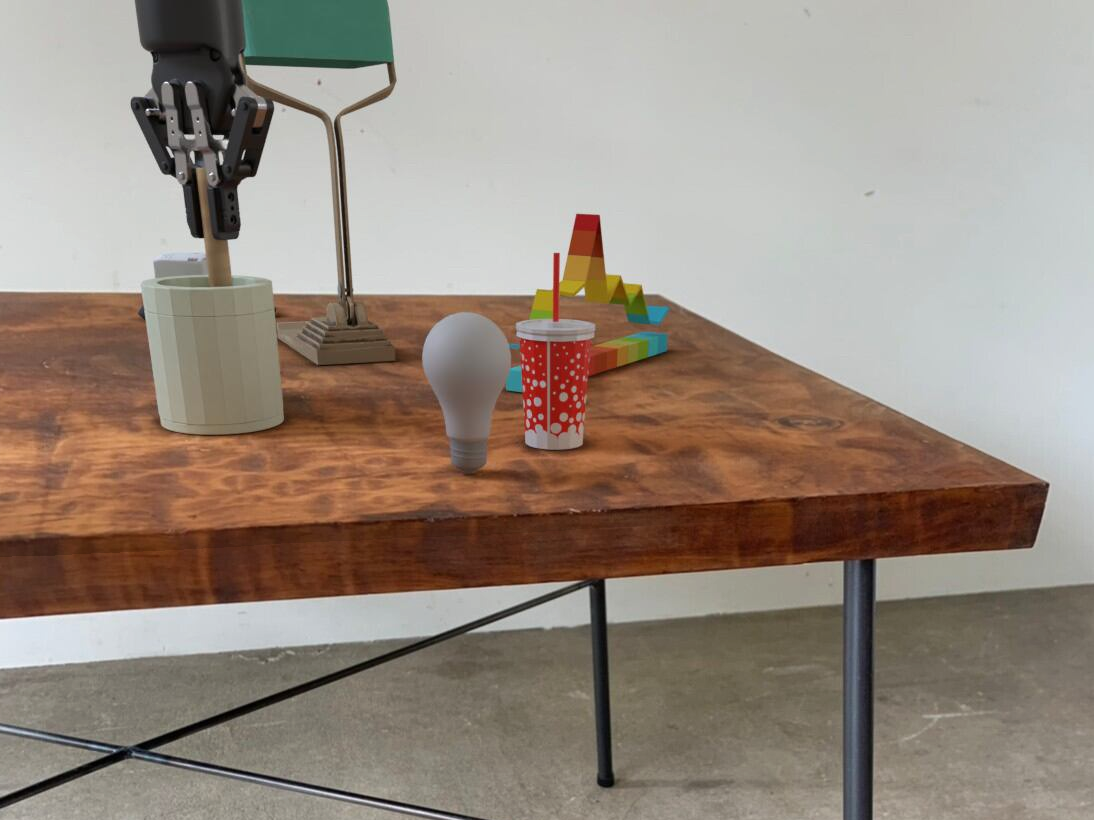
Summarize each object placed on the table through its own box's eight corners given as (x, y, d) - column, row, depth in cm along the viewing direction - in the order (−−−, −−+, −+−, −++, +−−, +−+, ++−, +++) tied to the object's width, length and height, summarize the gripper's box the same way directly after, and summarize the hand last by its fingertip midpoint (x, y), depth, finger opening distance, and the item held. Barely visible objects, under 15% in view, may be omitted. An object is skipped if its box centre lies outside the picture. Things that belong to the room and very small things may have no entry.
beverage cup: (599, 436, 94) (604, 250, 88) (583, 454, 89) (588, 258, 83) (526, 431, 95) (526, 248, 89) (506, 449, 90) (506, 254, 84)
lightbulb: (505, 462, 87) (504, 306, 81) (517, 483, 81) (517, 318, 76) (423, 464, 86) (417, 306, 80) (430, 486, 80) (423, 319, 75)
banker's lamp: (282, 367, 120) (246, -37, 104) (244, 337, 137) (207, -13, 121) (427, 358, 126) (414, -25, 110) (373, 331, 143) (354, -4, 127)
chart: (641, 348, 134) (648, 206, 128) (666, 351, 133) (675, 207, 126) (503, 390, 111) (503, 219, 104) (532, 394, 110) (533, 221, 103)
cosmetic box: (175, 393, 107) (156, 252, 102) (224, 392, 108) (209, 252, 103) (167, 406, 102) (147, 258, 96) (219, 405, 103) (202, 258, 97)
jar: (174, 439, 91) (154, 291, 86) (150, 414, 99) (130, 277, 94) (298, 428, 95) (286, 286, 90) (266, 405, 103) (253, 273, 98)
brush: (215, 387, 94) (188, 168, 87) (205, 379, 97) (178, 166, 90) (259, 384, 96) (236, 168, 88) (248, 376, 98) (225, 167, 91)
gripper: (79, -25, 84) (118, 236, 92) (213, -36, 77) (242, 246, 85) (162, -14, 89) (191, 231, 97) (293, -23, 83) (313, 240, 91)
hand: (215, 237), depth 91 cm, fingers closed on brush, 2 cm apart
